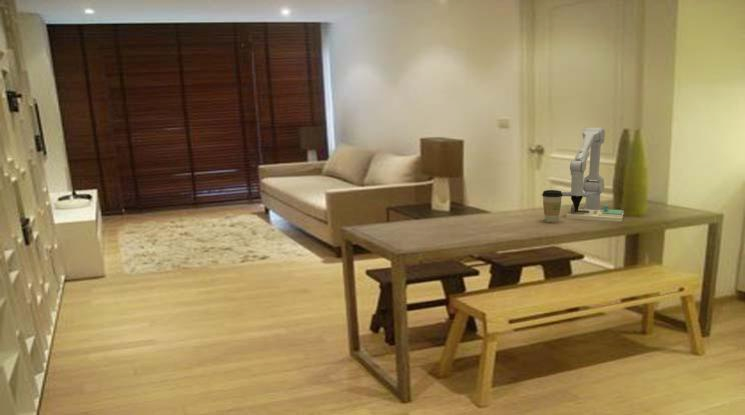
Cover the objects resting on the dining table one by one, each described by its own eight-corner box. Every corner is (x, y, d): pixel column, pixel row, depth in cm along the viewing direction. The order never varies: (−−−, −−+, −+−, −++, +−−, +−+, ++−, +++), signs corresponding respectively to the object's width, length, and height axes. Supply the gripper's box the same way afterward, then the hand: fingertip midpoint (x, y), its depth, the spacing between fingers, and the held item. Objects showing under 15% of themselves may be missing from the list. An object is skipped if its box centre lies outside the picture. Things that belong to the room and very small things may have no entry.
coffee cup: (564, 223, 299) (565, 192, 296) (544, 223, 299) (544, 193, 296) (558, 218, 308) (559, 189, 306) (539, 219, 309) (539, 190, 306)
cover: (603, 211, 311) (603, 203, 311) (622, 212, 308) (622, 204, 307) (601, 215, 303) (602, 206, 303) (621, 216, 300) (621, 207, 299)
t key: (572, 209, 318) (572, 204, 318) (590, 210, 315) (590, 205, 314) (570, 213, 310) (570, 207, 310) (588, 214, 307) (588, 208, 306)
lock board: (570, 212, 323) (570, 206, 322) (623, 215, 312) (623, 209, 311) (566, 218, 308) (566, 212, 308) (621, 221, 298) (622, 215, 297)
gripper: (561, 185, 307) (560, 211, 309) (591, 186, 301) (590, 213, 303) (563, 182, 313) (562, 208, 316) (593, 183, 307) (592, 210, 310)
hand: (576, 210), depth 310 cm, fingers closed
